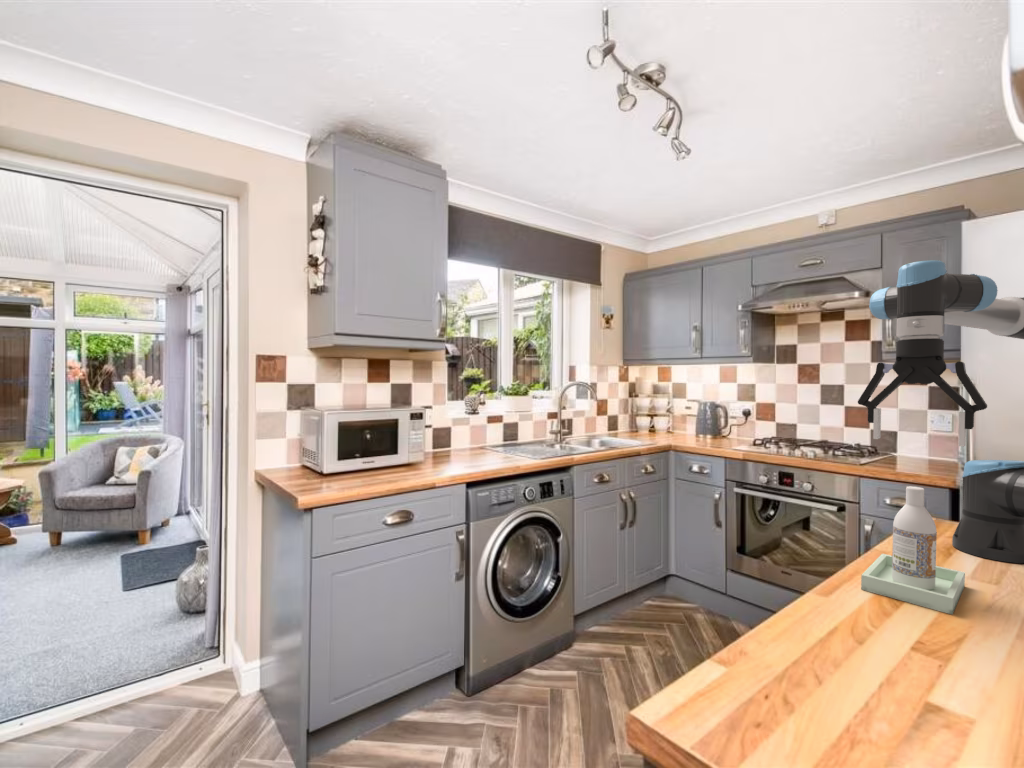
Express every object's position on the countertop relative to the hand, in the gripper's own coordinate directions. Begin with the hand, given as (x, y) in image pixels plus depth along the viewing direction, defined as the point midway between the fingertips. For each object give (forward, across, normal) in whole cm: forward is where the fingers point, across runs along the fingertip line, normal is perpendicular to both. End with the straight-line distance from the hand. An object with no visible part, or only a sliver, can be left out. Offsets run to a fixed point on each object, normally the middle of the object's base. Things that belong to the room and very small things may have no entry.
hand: (917, 442), depth 100 cm
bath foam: (+30, 0, 0) cm, 30 cm away
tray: (+30, 0, 0) cm, 30 cm away
